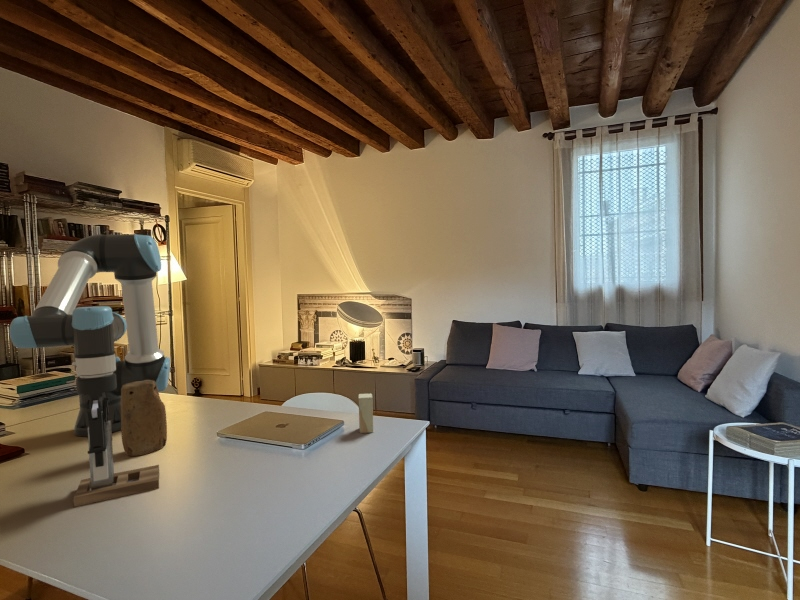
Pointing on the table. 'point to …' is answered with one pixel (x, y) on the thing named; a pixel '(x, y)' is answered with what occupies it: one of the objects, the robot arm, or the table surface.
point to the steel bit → (109, 448)
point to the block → (142, 418)
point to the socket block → (119, 485)
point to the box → (365, 413)
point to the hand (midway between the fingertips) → (102, 475)
